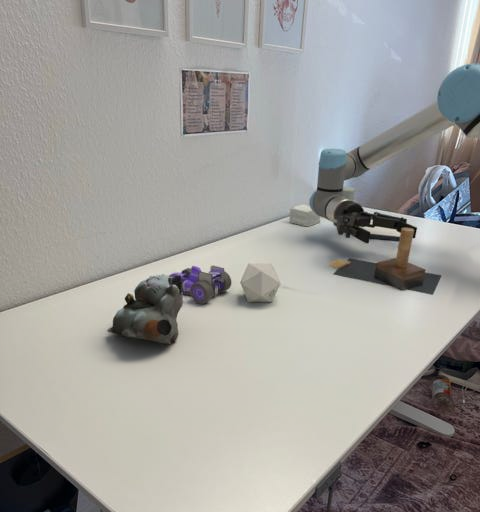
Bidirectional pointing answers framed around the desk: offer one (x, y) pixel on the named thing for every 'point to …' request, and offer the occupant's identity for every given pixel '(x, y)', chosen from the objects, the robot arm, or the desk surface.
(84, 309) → the desk surface
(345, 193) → the air freshener
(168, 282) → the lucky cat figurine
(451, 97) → the robot arm
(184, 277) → the toy race car
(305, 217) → the small box
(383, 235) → the phone case
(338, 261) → the pad
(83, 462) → the desk surface
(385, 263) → the wooden peg stand
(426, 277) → the mat
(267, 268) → the die
